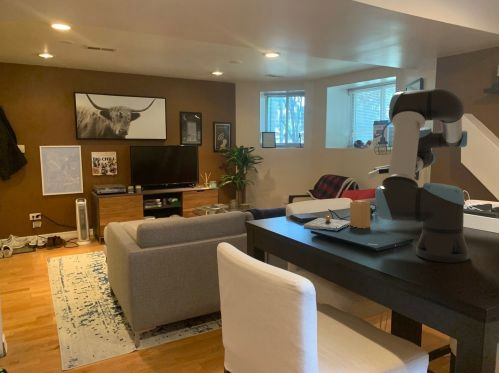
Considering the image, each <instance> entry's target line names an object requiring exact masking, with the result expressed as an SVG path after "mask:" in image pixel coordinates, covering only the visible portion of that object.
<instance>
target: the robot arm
mask: <svg viewBox="0 0 499 373" xmlns="http://www.w3.org/2000/svg"><path fill="white" fill-rule="evenodd" d="M463 102H464V101H462V99H461V98H460V97H459V96H458V95H457V94H456V93H453V91H450V90H448V89H444V88H438V87H436V88H430V89H429V88H428V89H427V88H426V89H417V90H414V89H413V90H403V91H398V92H395V93H394V94H393V95H392V97H391V99H390V102H389V106H388V108H389V110H388V120H389V121H390V122H391V124H392V126H394V127H395V129H394V132H393V133H394V134H393V141H392V148H391V152H390V161H389V164H387V165H383V166H376V167H373V171H370V172H368V173H367V175H368V180H370V179H374V178H375V177H377V176H378V177H379V175H381V174H382V175H384V174H385V175H386V174H388V175H387V177H385V178H383V180H382V183H381V185H376V187H375V191H374V192H375V194H374V195H375V196H374V198H375V207H376V208H375V209H376V213H377V216H378V217H379V218H380V219H382V220H386V221H392V222H393V221H396V222H410V223H412V222H413V223H421V224H422V230H421V234H420V237H419V238H418V242H417V244H416V247H415V250H416V251H415V252H416V255H417V256H418V257H420V258H423V259H424V260H429V261H433V262H440V263H452V264H454V263H455V264H456V263H464V262H466V261H468V260H469V259H470V258H469V256H470V255H469V254H470V253H469V247H468V246H467V242H466V239H465V236H464V219H465V218H464V214H465V213H464V212H465V209H464V208H465V204H466V202H465V193H464V190H463V189H462V188H460V187H458V186H456V185H450V184H445V183H437V182H425V183H424V184H423V186H421V187H419V183H418V181H416V179H415V176H416V175H418V172H419V171H421V170H424V169H425V168H428V167H430V166H431V165H433V164H434V163H435V162H436V159H437V157H436V155H435V153H434V151H432V149H435V148H436V149H437V148H438V149H439V148H441V149H442V148H444V149H445V148H448V149H449V148H451V149H453V148H456V149H458V148H465V147H467V146H468V131H467V130H463V121H462V118H463V116H464V115H465V104H464V103H463ZM426 121H439V122H440V127H441V131H432V128H431V127H430V126H429V127H427V126H426V127H424V126H425V125H426Z"/></svg>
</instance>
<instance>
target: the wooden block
mask: <svg viewBox="0 0 499 373" xmlns="http://www.w3.org/2000/svg"><path fill="white" fill-rule="evenodd" d="M349 203H350V204H349V209H350V210H349V215H350V216H349V221H350V225H351V226H355V227H359V228H363V229H368V228H371V202H370V201H367V200H362V199H359V200H352V201H350V202H349ZM350 225H349V226H350Z"/></svg>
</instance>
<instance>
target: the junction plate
mask: <svg viewBox="0 0 499 373" xmlns="http://www.w3.org/2000/svg"><path fill="white" fill-rule="evenodd" d="M346 225H349V226H350V220H344V219H333V218H331V215H325V218H324V217H318V218H316V219H314V220H311V221H308V222H307V223H306V222H305V223H304V224H303V228H304V229H311V230H312V229H313V230H319V228H336V227H337V228H340V227H342V226H346Z"/></svg>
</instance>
